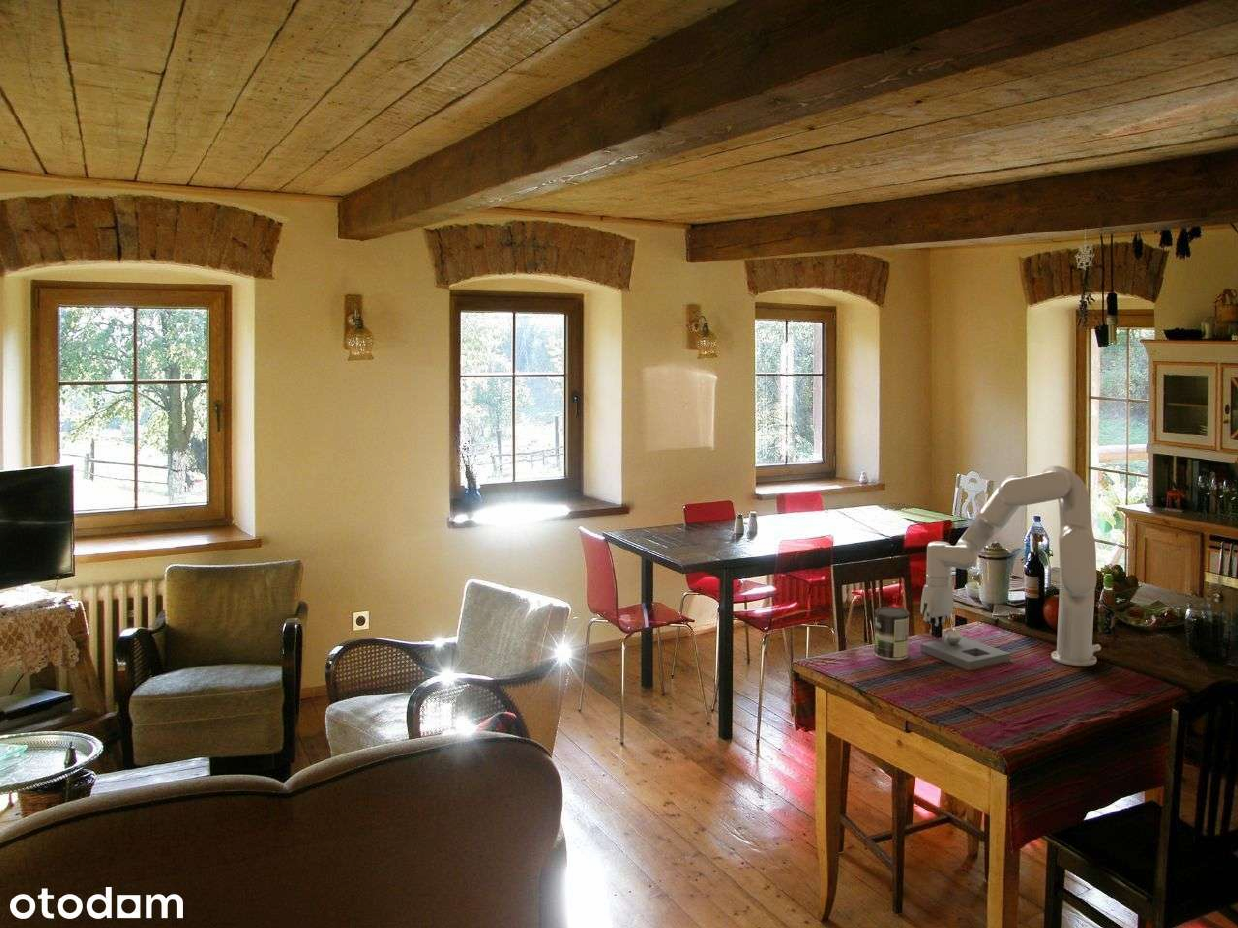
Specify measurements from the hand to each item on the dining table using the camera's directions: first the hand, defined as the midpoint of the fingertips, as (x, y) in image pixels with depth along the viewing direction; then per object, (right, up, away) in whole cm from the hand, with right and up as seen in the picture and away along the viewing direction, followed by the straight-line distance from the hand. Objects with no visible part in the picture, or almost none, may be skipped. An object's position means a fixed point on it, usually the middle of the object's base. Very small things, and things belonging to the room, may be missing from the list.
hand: (936, 636), depth 321 cm
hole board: (+5, -4, -10) cm, 12 cm away
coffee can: (-17, -5, -8) cm, 19 cm away
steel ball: (+3, +1, -6) cm, 7 cm away
